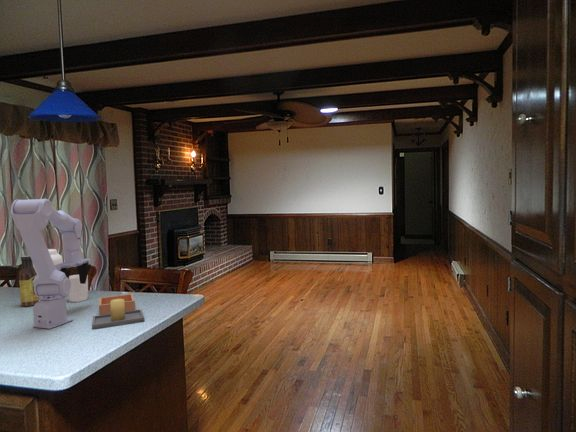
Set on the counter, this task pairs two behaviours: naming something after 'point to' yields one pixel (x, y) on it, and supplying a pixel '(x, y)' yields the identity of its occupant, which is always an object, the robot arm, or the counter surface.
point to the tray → (106, 321)
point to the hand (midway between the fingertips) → (74, 285)
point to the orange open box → (105, 301)
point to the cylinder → (117, 309)
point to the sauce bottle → (27, 282)
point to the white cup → (78, 289)
